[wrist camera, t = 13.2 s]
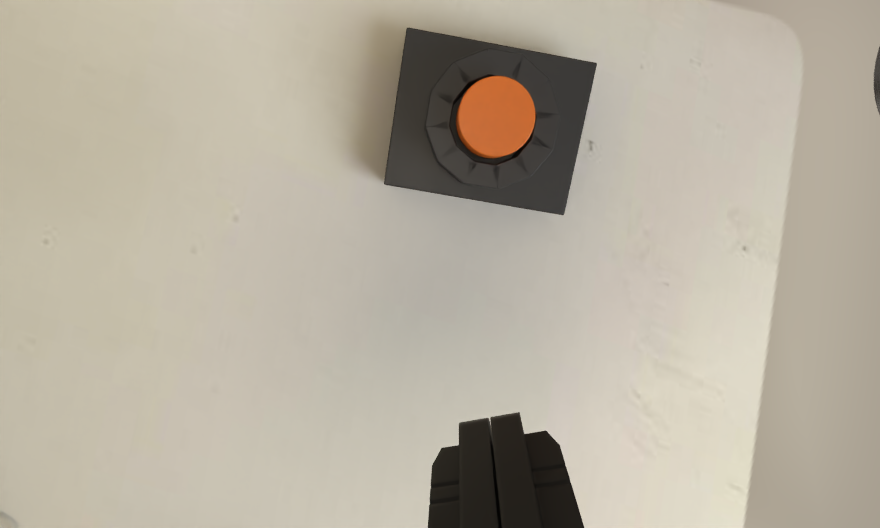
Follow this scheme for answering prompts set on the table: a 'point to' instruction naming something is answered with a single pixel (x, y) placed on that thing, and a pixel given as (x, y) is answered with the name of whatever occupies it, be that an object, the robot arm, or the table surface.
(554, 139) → the control block
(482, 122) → the button
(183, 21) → the table surface
